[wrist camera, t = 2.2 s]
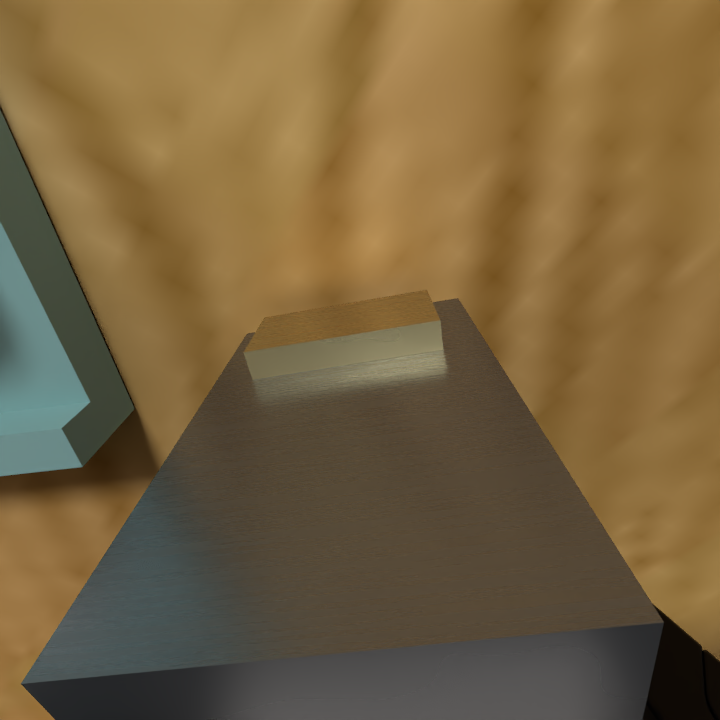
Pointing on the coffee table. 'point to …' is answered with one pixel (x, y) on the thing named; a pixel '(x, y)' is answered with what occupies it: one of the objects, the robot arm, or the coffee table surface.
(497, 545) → the block
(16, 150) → the tray
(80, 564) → the coffee table surface
